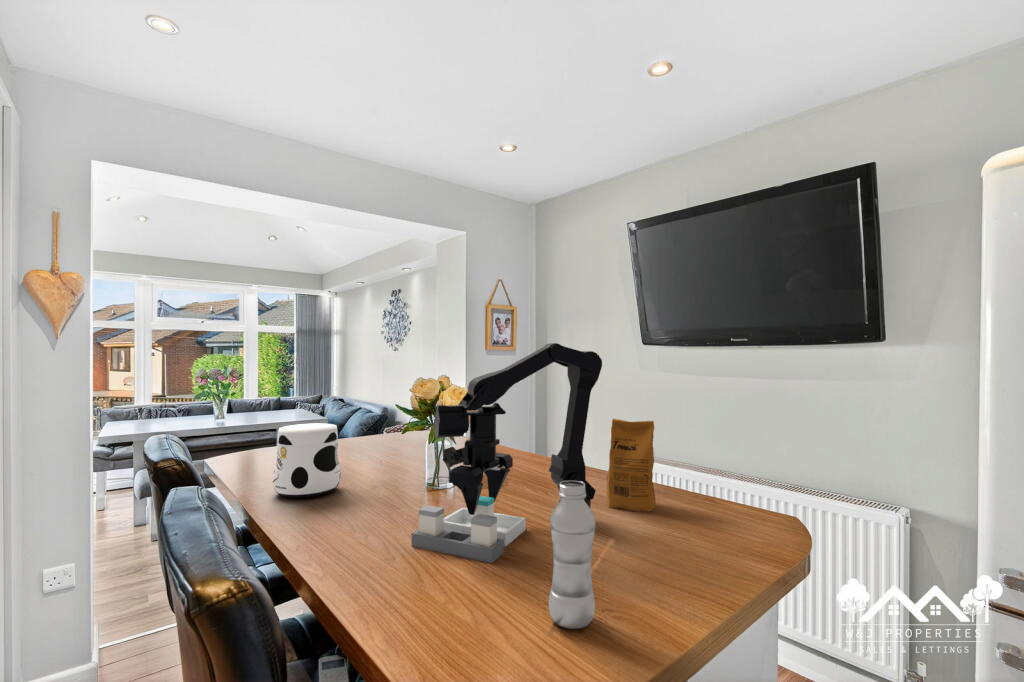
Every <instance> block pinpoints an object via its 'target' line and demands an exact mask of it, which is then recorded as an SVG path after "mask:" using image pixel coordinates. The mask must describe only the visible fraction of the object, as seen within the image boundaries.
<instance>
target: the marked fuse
mask: <svg viewBox="0 0 1024 682" xmlns="http://www.w3.org/2000/svg"><path fill="white" fill-rule="evenodd" d="M494 513H495V502H494V498H492V497H489V496H485V495H480V498H479V501H478V505H477V508H476V511H475V514H474V515H471V518H473V517H474V516H476V515H478V514H483V515H489V516H494Z"/></svg>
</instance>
